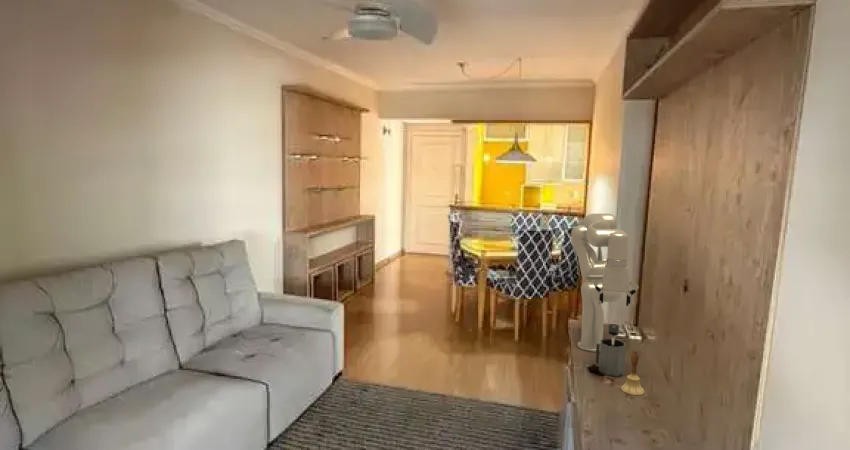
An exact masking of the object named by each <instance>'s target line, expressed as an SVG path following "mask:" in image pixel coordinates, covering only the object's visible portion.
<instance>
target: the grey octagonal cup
mask: <svg viewBox="0 0 850 450" xmlns="http://www.w3.org/2000/svg"><path fill="white" fill-rule="evenodd" d="M626 346H627V345H626V342H625V341H622V340H620V339H616V338H615V339H614V347H613V346H612V338H605V339H604V338H603V340H601V343H600V344H597V347H596V352H595V364H596V365H598V364H599V365H598V366H599V367H598V372H599V373H600V374H602V375H604V376H606V375H607V377H611V378H620V377H623V376H625V363H626ZM599 350H600V352H599Z"/></svg>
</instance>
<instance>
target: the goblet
mask: <svg viewBox="0 0 850 450" xmlns="http://www.w3.org/2000/svg"><path fill="white" fill-rule="evenodd" d="M607 331H608V332H607V333H608V335H611V339H612V346H613V347H614V339H616V338H615V337H616V336H619V334H620V325H619V324H617V323H609V324H608V330H607Z"/></svg>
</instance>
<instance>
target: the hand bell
mask: <svg viewBox="0 0 850 450" xmlns="http://www.w3.org/2000/svg"><path fill="white" fill-rule="evenodd" d="M632 351H633V352H632V354H631V356H630V361H631V372H630V374H628V375H627V376H626V379H625V380H626V381H625V383H624V384H623V385H621V387H620V390H621V392H624V393H625V394H628V395H631V396H641V395H642V396H643V395H644V394H645V390H644V388H643V387H642V385H641V379H640V377H639V376H638V375H637V366H638V364H639V359H640V358H639V353H638V350H637V349H633V350H632Z"/></svg>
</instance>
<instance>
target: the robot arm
mask: <svg viewBox="0 0 850 450" xmlns="http://www.w3.org/2000/svg"><path fill="white" fill-rule="evenodd" d="M582 222H583V223H582V225H577V226H574V227H573V228H572V229H571V233H570V236H571V237H570V239H571V243H572V246H573V249H574V250H575V252H576V255H577V258H578V265H579V269H580V273H581V277H582V279H584V280H585V282H584V283H582V285H581V287H580V289H581V290H580V293H581V294H580V295H581V302H582V311H581V312H582V313H581V314H582V315H581V332H580V333H581V336H580V338H581V339H580V341H578V342H577V347H578V348H579V349H581V350H582V351H586V352H592V353H596V347H597V344H600V343H601V340H603V339H604V318H605V317H604V316H605V313H604V312H605V311H604V309H603V307H602V306H601V304H604V303H615V302H619V301H620V300H621V298H622V293H626V302H625V303H626V304H625V306H626V307H629V305H630V304H631V297H632V296H633V295H634V294H635V293H636V292H637V291H638V290H639V288H640V287H639V285H638V284H636V283H634V282H633V281H631V280H630V268H629V266H628V250H629V235H628V233H626V232H625V231H624V230H622V229H620V228H619V229H617V227H618V222H617V218H616V216H615V215H614V214H612V213H590V214H587V215H586V216H585V217H584V218H583V221H582ZM589 244H590V245H589ZM593 247H594V248H607V252H606V253H607V254H606V256H607V257H606V258H604V259H602V260H598V256H597V252H596V251H595V249H594V248H593ZM630 286H631V287H633V288H632V290H630ZM600 303H601V304H600ZM599 353H600V350H599Z"/></svg>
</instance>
